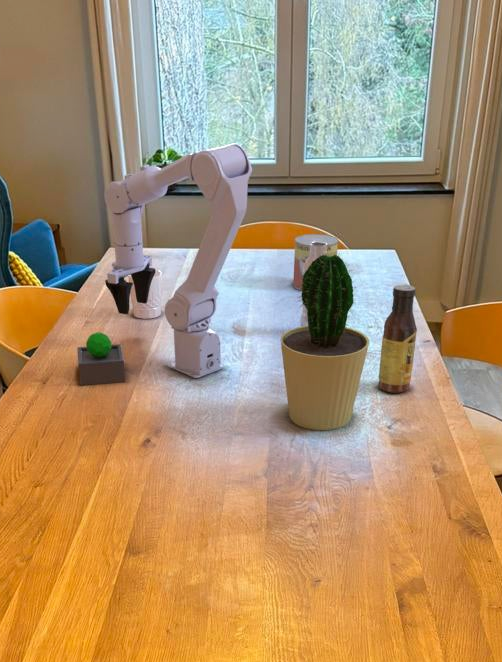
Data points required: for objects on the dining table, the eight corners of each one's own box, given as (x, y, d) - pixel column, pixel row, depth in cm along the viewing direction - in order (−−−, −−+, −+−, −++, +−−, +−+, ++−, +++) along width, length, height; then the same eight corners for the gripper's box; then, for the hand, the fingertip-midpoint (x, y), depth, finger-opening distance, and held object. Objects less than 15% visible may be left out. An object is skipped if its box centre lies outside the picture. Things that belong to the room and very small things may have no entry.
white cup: (148, 322, 189) (146, 280, 184) (124, 315, 193) (121, 274, 188) (170, 313, 195) (168, 272, 189) (146, 307, 199) (143, 266, 193)
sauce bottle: (409, 395, 154) (422, 294, 143) (376, 393, 155) (387, 292, 144) (409, 382, 159) (422, 283, 148) (378, 379, 160) (388, 281, 149)
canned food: (288, 290, 209) (290, 243, 202) (297, 277, 218) (299, 232, 211) (331, 293, 206) (334, 246, 200) (338, 281, 215) (341, 235, 209)
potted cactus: (367, 403, 151) (382, 241, 135) (356, 440, 138) (372, 267, 122) (287, 394, 154) (293, 236, 138) (269, 429, 142) (274, 260, 126)
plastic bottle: (327, 328, 185) (333, 240, 174) (327, 338, 179) (333, 248, 169) (299, 327, 186) (303, 239, 175) (299, 337, 180) (303, 247, 169)
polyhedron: (82, 358, 160) (80, 335, 158) (97, 350, 164) (94, 328, 161) (103, 362, 158) (100, 339, 156) (117, 354, 162) (115, 331, 159)
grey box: (122, 364, 168) (120, 344, 165) (125, 381, 160) (123, 360, 158) (79, 368, 166) (77, 347, 164) (80, 385, 159) (78, 363, 156)
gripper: (130, 232, 169) (134, 295, 176) (92, 249, 158) (98, 315, 166) (159, 236, 166) (162, 299, 174) (122, 253, 156) (127, 320, 163)
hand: (133, 307), depth 170 cm, fingers open, 7 cm apart
